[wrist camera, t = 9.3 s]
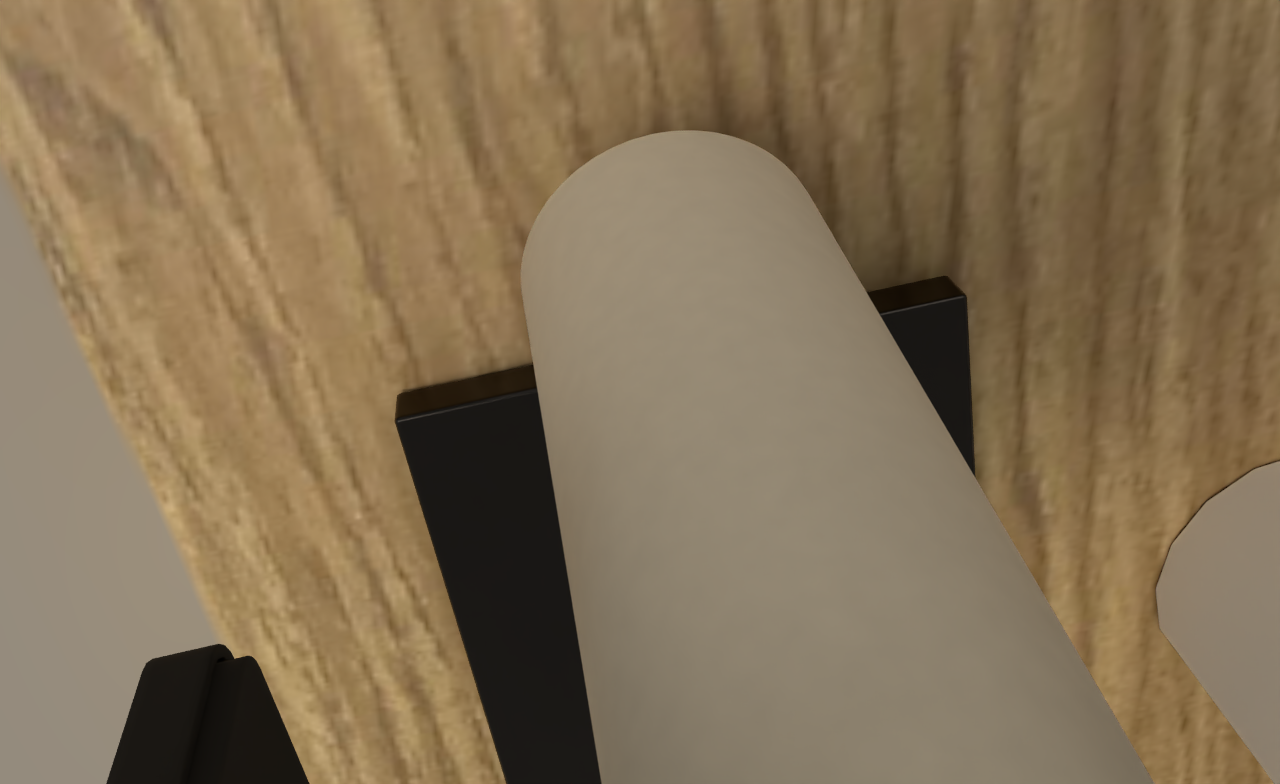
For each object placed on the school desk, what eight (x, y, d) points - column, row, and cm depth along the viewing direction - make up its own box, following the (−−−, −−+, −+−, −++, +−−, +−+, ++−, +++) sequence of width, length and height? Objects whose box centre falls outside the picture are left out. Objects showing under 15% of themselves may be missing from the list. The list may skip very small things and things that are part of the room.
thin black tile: (396, 392, 21) (393, 419, 20) (947, 273, 22) (968, 294, 21) (547, 892, 27) (550, 930, 26) (976, 792, 28) (993, 825, 27)
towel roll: (552, 418, 20) (489, 164, 18) (827, 357, 21) (811, 96, 18) (694, 1237, 11) (608, 984, 8) (1203, 1111, 11) (1305, 817, 8)
